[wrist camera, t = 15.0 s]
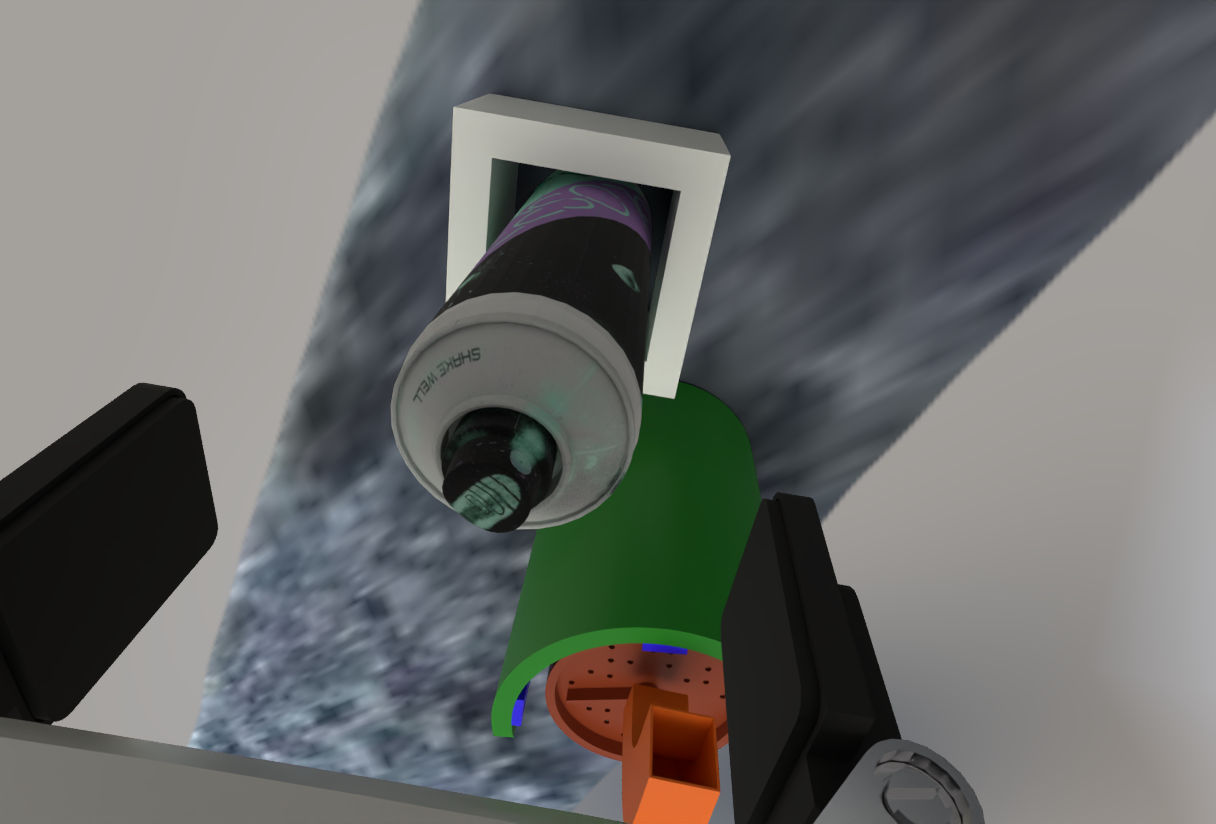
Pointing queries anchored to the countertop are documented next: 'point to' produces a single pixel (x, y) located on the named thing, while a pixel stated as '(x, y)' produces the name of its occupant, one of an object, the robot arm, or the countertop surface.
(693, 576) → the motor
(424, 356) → the spray can
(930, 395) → the countertop surface
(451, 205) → the square frame
